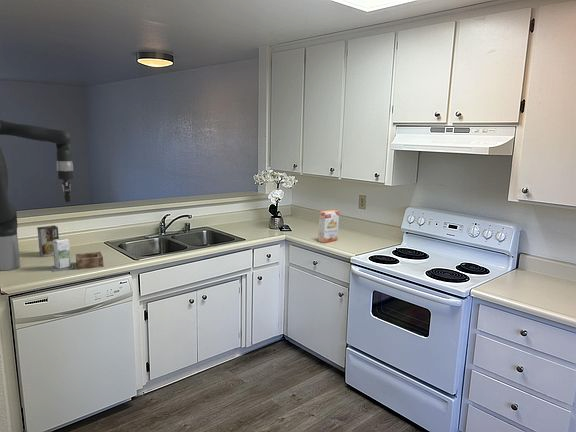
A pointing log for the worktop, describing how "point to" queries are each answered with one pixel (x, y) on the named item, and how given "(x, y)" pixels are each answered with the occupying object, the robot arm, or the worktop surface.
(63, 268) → the coaster
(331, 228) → the cracker box
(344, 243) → the worktop surface
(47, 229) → the coffee box
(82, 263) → the box
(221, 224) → the worktop surface
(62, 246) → the syrup box
